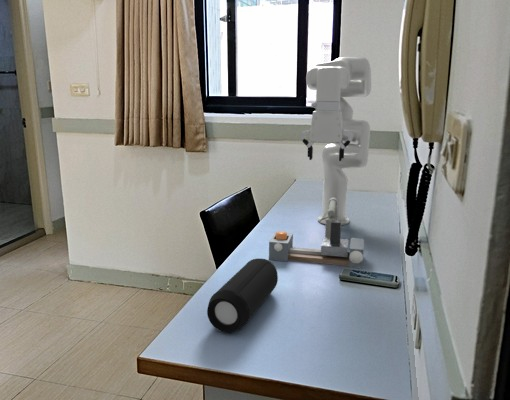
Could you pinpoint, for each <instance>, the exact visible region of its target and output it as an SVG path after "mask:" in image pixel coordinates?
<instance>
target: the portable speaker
mask: <svg viewBox="0 0 510 400" xmlns="http://www.w3.org/2000/svg"><path fill="white" fill-rule="evenodd" d="M278 280H279V276H278V270H277V268H276V266H275V264H274V263H273V262H271V260H269V259H266V258H253V259H251V260H249V261H248V262H247V263H246V264H245V265H243V267H242V268H240V269H239V270H238V271H237V272H236V273H235V274H234V275H233V276H232V277H231V278H229V280H228V281H226V282H225V283H224V284H223V285H222V286H221V287H220V288H219V289H218V290H217V291H216V292H215V293H213V295H212V296H211V297H210V298H209V301H208V306H207V310H206V311H207V312H206V314H207V318H208V320H209V323H210V324H211V326H213V327H214V329H217V330H218V331H219V332H223V333H232V332H235V331H239V330H242V328H244V327H245V326H246V324H247V323H248V322H249V321H250V320H251V318H252V317H253V316H254V315H255V313H256V312H257V311H258V310H259V308H260V307H261V306H262V305H263V303H264V302H265V301H266V300H267V298H268V297H269V296H270V295H271V293H272V292H273V291H274V290H275V288H277V285H278Z"/></svg>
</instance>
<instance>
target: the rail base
mask: <svg viewBox="0 0 510 400" xmlns="http://www.w3.org/2000/svg"><path fill="white" fill-rule="evenodd" d="M349 255H350V251H348V253H347V257H340V256H329V255H321V249H318V248H317V249H316V248H308V247H307V248H305V247H294V246H293V247H291V248H290V253H289V255H288V261H293V262H305V263H313V264H325V265H326V264H327V265H337V266H348V267H349Z"/></svg>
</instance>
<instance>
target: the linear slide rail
mask: <svg viewBox="0 0 510 400" xmlns="http://www.w3.org/2000/svg"><path fill="white" fill-rule="evenodd" d="M276 232H277V231H274V233H273V235H272V236H271V238H270V240H269V241H268V260H269V261H280V262H288V261H289V260H288V255H289V253H290V248H291V247H294V246H293V244H294V243H293V242H294V240H293V239H294V233H293V232H291V233H290V232H287V240H278V239H276ZM364 242H365V239H364V238H357V237H356V238H355V237H351V238H350V243H349V244H350V245H349V252H350V255H349V266H348V267H349V268H356V269H363V262H364V248H365V247H364Z"/></svg>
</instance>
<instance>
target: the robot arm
mask: <svg viewBox="0 0 510 400" xmlns="http://www.w3.org/2000/svg"><path fill="white" fill-rule="evenodd" d="M371 69H372V68H371V64H370V61H369V60H368V59H367V57H364V56H355V57H354V56H343V57H341V56H340V57H338V58H335V59H334V60H332V61H327V62H322V63H316V64H313V65H311V66H310V67H309V68H308V70H307V72H306V76H305V81H306V82H305V83H306V85H307V87H308V89H310V90H313V91H316V92H315V93H316V95H315V102H311V108H314V109H315V110H314V111H312V116H311V121H310V122H311V123H310V128H309V129H307V130H304V131H303V132H301V133H299V137H300V139H301V141H302V143H303V145H305V146H306V147H307V158H309V161H312V160H313V155H314V154H313V153H314V148H313V144H314V143H316V144H321V143H322V144H326V145H325V146H324V147H323V149H322V152H321V153H322V154H321V156H322V165H323V180H322V181H323V184H322V203H321V204H322V205H321V206H322V207H321V212H322V213H321V215H319V216H318V217H317V221H318V222H319V221H320V220H321V218H322V217H323V216H324V214H325V213H326V212H327V211H328V206H329V200H330V198H333V197H334V198H336V199H337V205H336V206H337V217H336V220H341V226H345V225H348V224H350V218H349V217H348V216H347V202H348V201H347V200H348V197H347V196H348V185H349V183H348V181H349V180H348V176H347V174H346V173H345V172H344V170H343V169H351V170H352V169H353V170H354V169H355V170H356V169H357V170H362V169H365V168H366V166H367V164H368V161H369V150H370V139H371V126H370V124H369V122H368V121H367V120H364V119H353V116H354V109H353V107H352V106H351V104H350V103H349V102H348V101H347V100H346V99H345V98H366V97H368V96H369V95H370V94H371V91H372V70H371ZM309 134H310V135H309ZM307 135H309V137H310V138H309V139H310V141H309V139H307V138H306V136H307ZM327 213H328V212H327ZM338 216H339V217H338ZM325 217H327V214H326V215H325V216H324V218H325ZM319 223H320V224H323V225H326V219H324V220H322V221H321V222H319Z"/></svg>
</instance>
